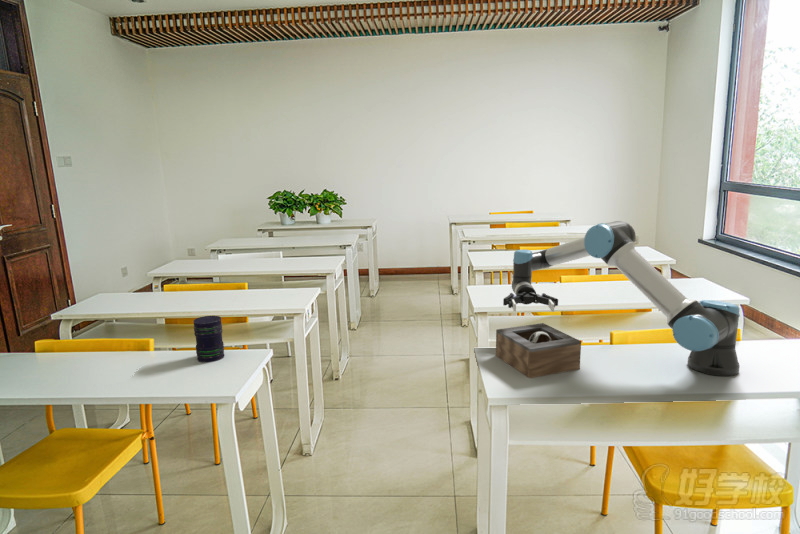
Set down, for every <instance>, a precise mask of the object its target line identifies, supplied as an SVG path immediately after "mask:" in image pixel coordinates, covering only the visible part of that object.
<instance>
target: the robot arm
mask: <svg viewBox="0 0 800 534" xmlns="http://www.w3.org/2000/svg"><path fill="white" fill-rule="evenodd" d="M636 237H637V236H636V231H635V229H634V228H633V226H632V225H630V223H628V222H625V221H621V220H616V221H611V222H605V223H603V222H601V223H597V224H596V225H595V224H594V225H592V226H591V227H590V228H588V229H587V231H586V232H585V235H584V237H581V238H579V239H576V240H572V241H568V242H565V243H563V244H560V245H556V246H553V247H550V248H546V249H543V250H540V251H535V252H533V251H532V250H529V249H518V250H515V251H514V253H513V260H512V262H513V263H512V264H513V266H512V267H513V271H512V281H511V289H512V291H513V292H510V293H509V294H508V295H507V296H505V297H504V298H503V301H502V303H503V306H508V308H510V309H512V310H513V312H516V311H517V305H518V304H522V305H531V304H536V305H537V304H542V305H546V306H548V308H549V310H550V311H551V312H552V313H553V312H555V308H556V306H557V307H558V306H559V299H558V298H556V297H554V296H550V295H548V294H546V293H541V295H540V294H538V293H537V292H536V289H534V287H533V285H532V276H533V275H532V273H533V272H534V271H540V270H542V269H549V268H551V267H553V266H554V267H555V266H557V265H560V264H565V263H569V262H572V261H576V260H579V259H582V258H586V257H592V258H595V259H601V260H602V261H603V262H604V263H605V264H606V265H607V266H608V267H615V268H617V269H618V270H619V271H620V272H621V273H622V274H623V276H624V277H626V278H627V280H629V282H631V284H633V285H634V286H635V287H636V288H637V289H638V290H639V291H640V292H641V293H642V294H643V295H644V296H645V297H646V298H647V299H648V300H649V301H650V302H651V303H652V304H653V305H654V306H655V307H656V308H657V309H658V310H659V311H660V312H661V313H662V314H663V315H664V316H665V317H666V324H667V325H668V327H670V328H671V330H672V336H673V338H674V340H675V342H676V343H677V344H678V345H679V346H680V347H682V348H684V349H685V350H688V351H690V353H689V355H688V357H687V366H688V367H689V368H690V369H693V370H694V371H697V372H700V373H703V374H707V375H711V376H718V377H732V376H736V375H738V374H739V373H740V363H739V359H738V354H737V351H736V344H737V335H738V328H739V321H740V320H739V319H740V308H739V305H737V304H736V303H731V302H726V301H719V300H712V299H711V300H710V299H702V300H700V301H698V300H696V299H689V298H687V297H686V296H685V295H684V294H683V293H682V292H681V291H680V290H679V289H678V288H677V287H675V285H673V284H672V283H671V282H670V281H669V280H668V279H667V278H666V277H665V276H664V275H662V273H661V272H660V271H659V270H657V269H656V268H655V267H654V266H653V265H652V264H651V263H650V262H649V261H648V260H646V258H645V257H643V256H642V255H641V253H639V252H638V251H637V250H636V249H635V246H636V244H635V242H636Z"/></svg>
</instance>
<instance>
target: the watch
mask: <svg viewBox="0 0 800 534" xmlns="http://www.w3.org/2000/svg"><path fill="white" fill-rule="evenodd" d="M540 334H544V335H546V336H548V337H549V339H550V340H549V341H551V338H550V336H549V335H548V334H547V333H545V332H542V331H538V332H536V333H535V332H534V333H533V334H532V335H531V336H530V338H529V341H530V342H532V343H533V344H535V343H536V342H537V340H538V337H539V336H540Z"/></svg>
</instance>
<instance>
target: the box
mask: <svg viewBox="0 0 800 534" xmlns="http://www.w3.org/2000/svg"><path fill="white" fill-rule="evenodd" d="M538 331H542V332H545V333H547V334H548V335H549V336H550V338H551V341H549V340H550V339H549V337H548V336H546V335H544V334H540V336H539V337H538V340H537V342H536V343H535V344H533V343H532V342H530V341H529V338H530V336H531V335H532V334H533V333H534V332H535V333H536V332H538ZM495 332H496V333H495V335H496V336H495V356H496V357H497V358H499V359H501V361H503V362H505V363H506V364H507V365H509V366H511V367H512V368H514V369H515V370H516V371H518V372H520V373H521V374H523V375H524V376H526V377H527V378H529V379H533V378H538V377H543V376H547V375H548V376H549V375H555V374H559V373H560V374H561V373H565V372H571V371H577V370H580V368H581V356H582V355H581V353H582V352H581V351H582V341H581V340H580V339H577V338H575V337H573V336H571V335H569V334H567V333H564V332H563V331H560V330H558V329H556V328H554V327H552V326H550V325H549V324H546V323H544V322H542V323H541V322H540V323H534V324H528V325H527V324H526V325H519V326H513V327H512V326H511V327H506V328H505V327H503V328H498V329H496V330H495Z"/></svg>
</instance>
